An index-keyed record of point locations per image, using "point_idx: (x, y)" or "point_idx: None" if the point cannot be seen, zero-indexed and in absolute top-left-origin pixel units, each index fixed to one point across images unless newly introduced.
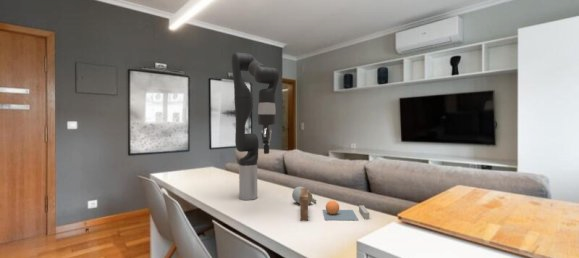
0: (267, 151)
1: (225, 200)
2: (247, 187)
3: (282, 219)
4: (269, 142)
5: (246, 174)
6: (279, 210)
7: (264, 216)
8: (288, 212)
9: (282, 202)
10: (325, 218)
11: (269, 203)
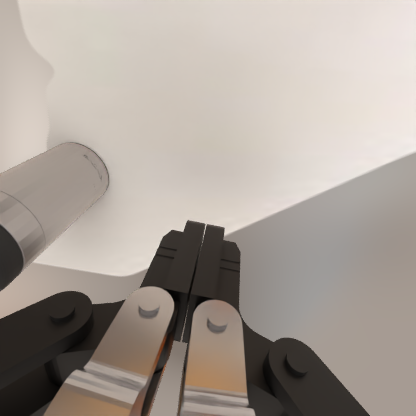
0: (239, 254)
1: (113, 233)
2: (85, 195)
3: (354, 60)
4: (166, 326)
5: (52, 227)
6: (240, 64)
7: (297, 127)
8: (275, 24)
9: (130, 40)
10: None
11: (144, 100)
